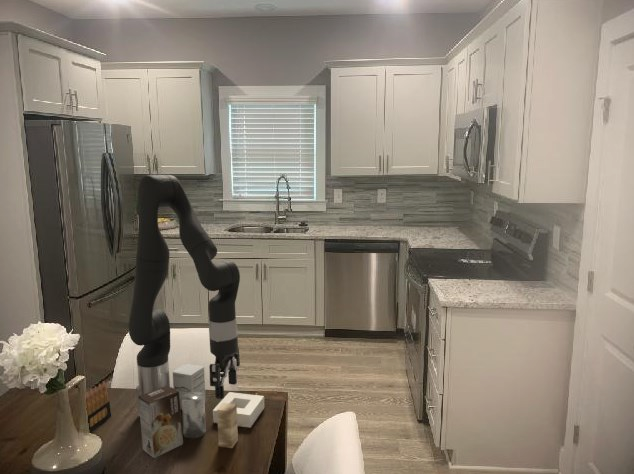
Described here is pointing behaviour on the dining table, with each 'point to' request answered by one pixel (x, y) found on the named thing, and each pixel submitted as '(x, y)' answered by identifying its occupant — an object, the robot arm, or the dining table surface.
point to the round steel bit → (193, 415)
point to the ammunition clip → (97, 406)
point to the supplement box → (189, 380)
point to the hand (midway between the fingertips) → (226, 390)
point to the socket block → (243, 407)
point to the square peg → (227, 425)
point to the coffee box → (160, 420)
